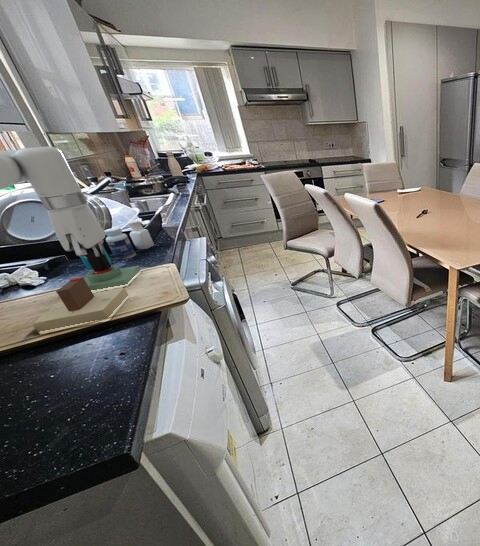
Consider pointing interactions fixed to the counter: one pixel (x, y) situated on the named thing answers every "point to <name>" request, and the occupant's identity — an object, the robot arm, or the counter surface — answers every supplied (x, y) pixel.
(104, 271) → the button
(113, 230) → the pill bottle
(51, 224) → the robot arm
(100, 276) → the button box
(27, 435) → the counter surface
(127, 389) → the counter surface
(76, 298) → the brown rectangular block
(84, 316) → the panel
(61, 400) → the counter surface
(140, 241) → the pepper shaker
